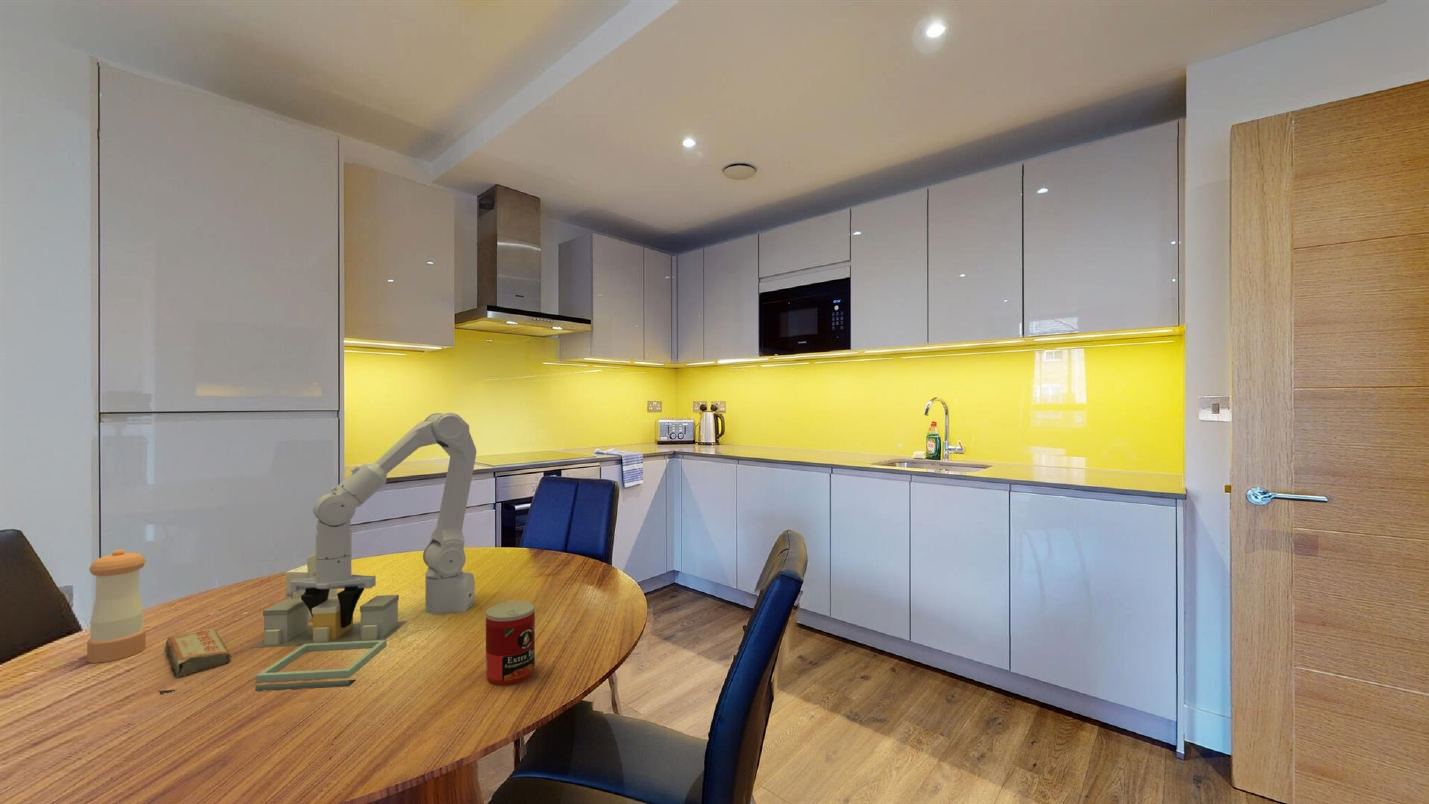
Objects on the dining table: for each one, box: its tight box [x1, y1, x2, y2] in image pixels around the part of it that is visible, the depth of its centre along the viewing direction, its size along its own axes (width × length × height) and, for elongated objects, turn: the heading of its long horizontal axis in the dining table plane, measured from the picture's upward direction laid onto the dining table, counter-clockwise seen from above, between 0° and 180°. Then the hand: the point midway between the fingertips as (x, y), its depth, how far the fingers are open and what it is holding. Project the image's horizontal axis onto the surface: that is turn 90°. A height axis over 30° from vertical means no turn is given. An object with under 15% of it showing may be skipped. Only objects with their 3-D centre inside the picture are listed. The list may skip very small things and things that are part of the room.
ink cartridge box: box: [285, 553, 338, 622], centre depth 116 cm, size 9×5×15 cm, turn 179°
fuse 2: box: [359, 594, 400, 638], centre depth 106 cm, size 4×6×6 cm
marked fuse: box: [312, 597, 354, 640], centre depth 105 cm, size 4×6×6 cm
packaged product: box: [158, 628, 233, 696], centre depth 95 cm, size 18×5×10 cm
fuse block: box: [250, 620, 408, 649], centre depth 105 cm, size 23×10×4 cm, turn 96°
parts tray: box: [254, 639, 387, 692], centre depth 93 cm, size 14×12×2 cm
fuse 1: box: [262, 598, 309, 642], centre depth 104 cm, size 4×6×6 cm
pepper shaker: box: [86, 549, 147, 664], centre depth 101 cm, size 7×7×19 cm
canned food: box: [485, 600, 536, 686], centre depth 91 cm, size 8×8×11 cm
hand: (333, 626), depth 105 cm, fingers closed on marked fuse, 4 cm apart
